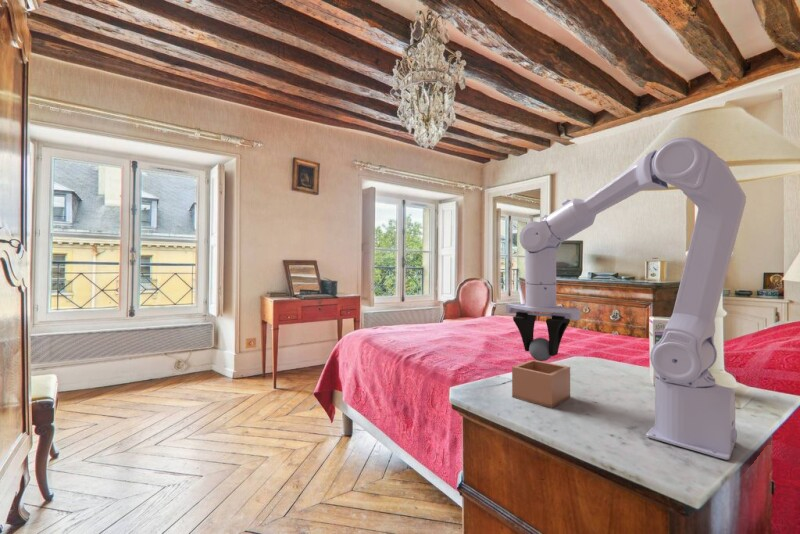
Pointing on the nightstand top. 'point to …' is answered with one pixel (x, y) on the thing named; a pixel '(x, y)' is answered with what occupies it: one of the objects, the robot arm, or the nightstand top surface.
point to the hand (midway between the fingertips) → (540, 352)
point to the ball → (539, 349)
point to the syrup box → (655, 337)
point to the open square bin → (541, 383)
